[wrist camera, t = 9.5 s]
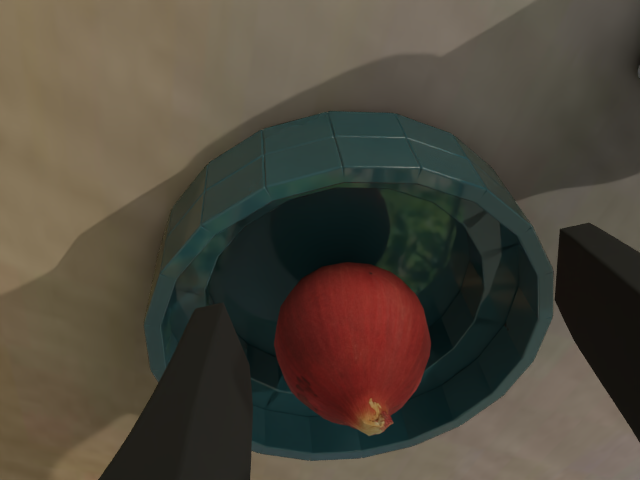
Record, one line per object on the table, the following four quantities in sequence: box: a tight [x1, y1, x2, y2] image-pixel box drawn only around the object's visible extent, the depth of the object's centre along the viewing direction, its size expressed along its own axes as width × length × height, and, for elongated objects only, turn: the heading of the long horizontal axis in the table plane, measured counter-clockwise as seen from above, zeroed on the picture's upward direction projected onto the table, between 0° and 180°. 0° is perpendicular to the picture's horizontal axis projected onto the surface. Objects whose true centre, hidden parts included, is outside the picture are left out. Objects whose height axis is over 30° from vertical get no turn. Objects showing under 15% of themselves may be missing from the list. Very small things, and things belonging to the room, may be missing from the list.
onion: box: [274, 262, 431, 436], centre depth 22 cm, size 6×6×8 cm
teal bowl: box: [144, 111, 554, 461], centre depth 23 cm, size 15×15×4 cm
